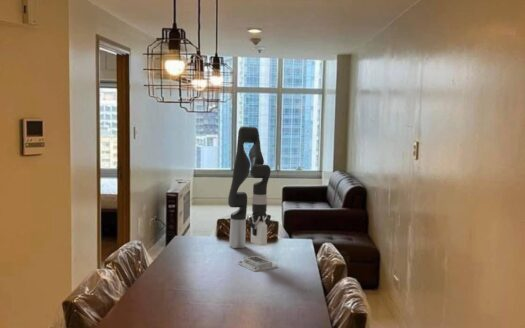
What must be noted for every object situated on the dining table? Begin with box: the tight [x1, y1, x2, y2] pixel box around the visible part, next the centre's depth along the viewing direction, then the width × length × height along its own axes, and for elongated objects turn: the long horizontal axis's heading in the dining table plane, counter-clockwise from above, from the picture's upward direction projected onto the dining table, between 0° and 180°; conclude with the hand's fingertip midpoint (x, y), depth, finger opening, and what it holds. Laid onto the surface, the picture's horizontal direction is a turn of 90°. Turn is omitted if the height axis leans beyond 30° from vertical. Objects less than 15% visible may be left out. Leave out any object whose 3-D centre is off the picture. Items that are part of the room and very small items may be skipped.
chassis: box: [237, 255, 279, 272], centre depth 261 cm, size 16×15×3 cm
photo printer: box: [250, 221, 268, 247], centre depth 260 cm, size 10×4×12 cm, turn 39°
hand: (258, 234), depth 260 cm, fingers closed on photo printer, 4 cm apart
